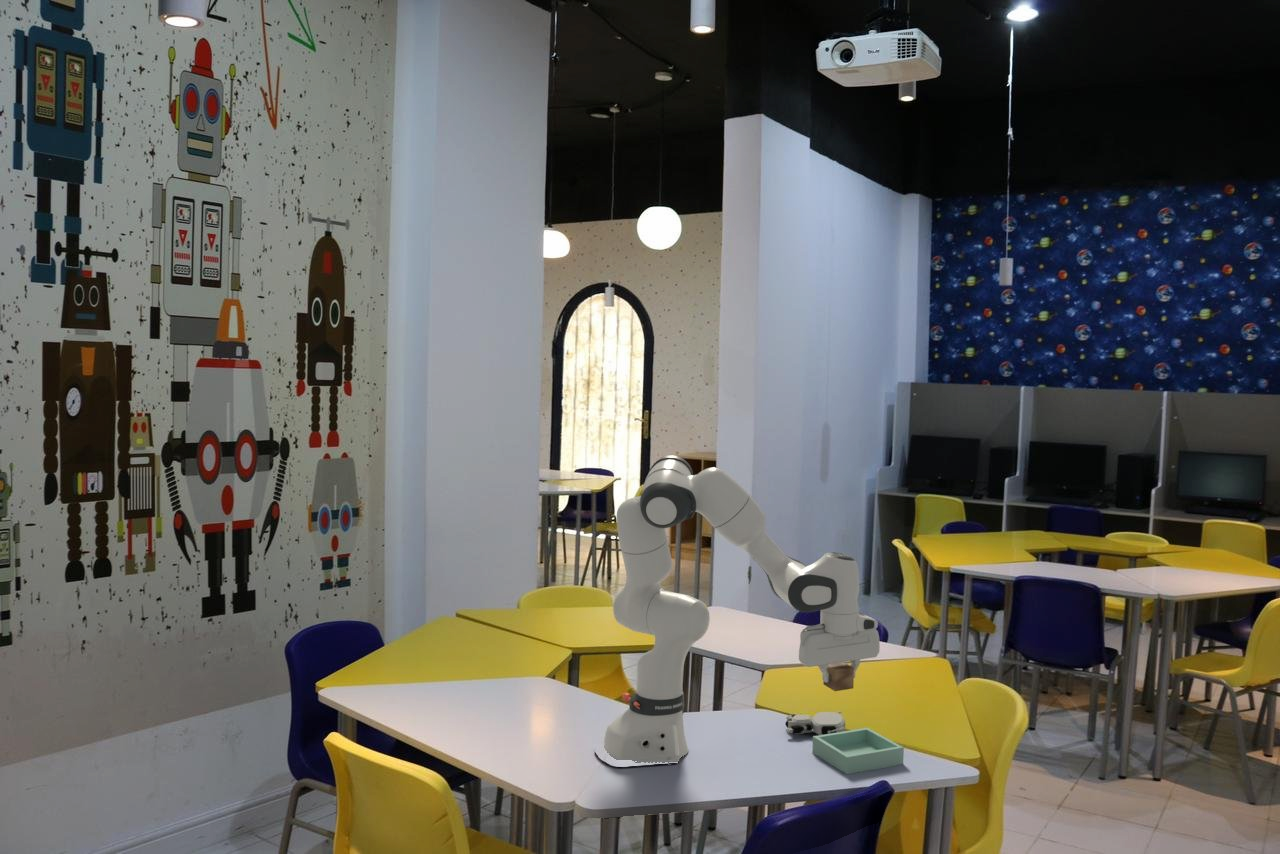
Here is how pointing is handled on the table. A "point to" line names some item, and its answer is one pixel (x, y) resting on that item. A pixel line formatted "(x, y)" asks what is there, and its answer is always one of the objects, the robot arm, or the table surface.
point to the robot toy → (816, 723)
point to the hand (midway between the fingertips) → (839, 679)
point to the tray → (857, 750)
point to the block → (840, 676)
